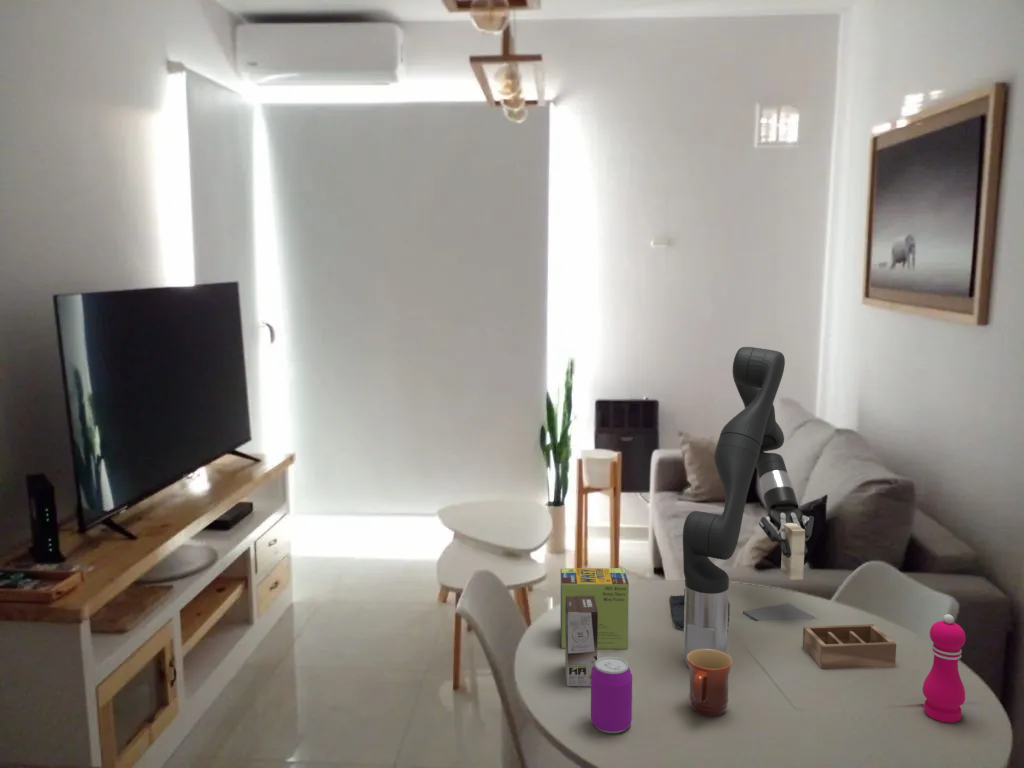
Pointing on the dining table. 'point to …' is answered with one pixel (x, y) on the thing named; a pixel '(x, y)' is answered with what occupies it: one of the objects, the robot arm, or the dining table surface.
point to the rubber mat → (778, 613)
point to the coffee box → (580, 639)
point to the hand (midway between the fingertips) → (796, 555)
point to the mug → (709, 681)
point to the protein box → (600, 602)
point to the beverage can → (611, 695)
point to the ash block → (794, 552)
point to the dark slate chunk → (681, 610)
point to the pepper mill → (945, 672)
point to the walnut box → (849, 646)
